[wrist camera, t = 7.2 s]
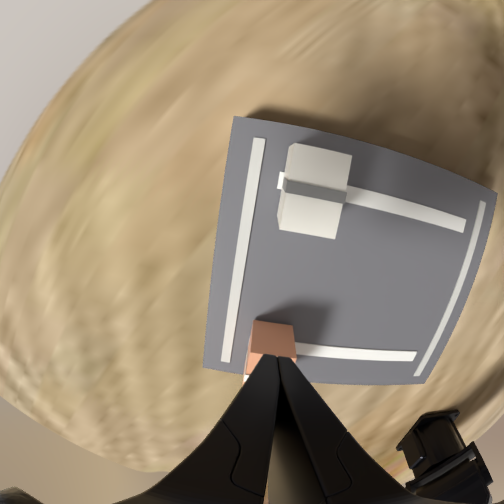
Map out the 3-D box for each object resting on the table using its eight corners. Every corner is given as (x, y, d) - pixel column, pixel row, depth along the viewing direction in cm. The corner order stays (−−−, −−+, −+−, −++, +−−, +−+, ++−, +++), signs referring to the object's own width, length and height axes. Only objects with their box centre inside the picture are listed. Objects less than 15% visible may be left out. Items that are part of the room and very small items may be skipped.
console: (481, 189, 15) (498, 193, 13) (415, 369, 20) (424, 384, 18) (237, 121, 15) (233, 115, 13) (207, 350, 20) (202, 368, 18)
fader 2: (335, 156, 14) (354, 155, 10) (322, 223, 15) (336, 240, 12) (287, 146, 14) (293, 142, 10) (275, 214, 15) (278, 230, 12)
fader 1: (293, 325, 17) (297, 359, 14) (281, 368, 18) (282, 404, 15) (252, 319, 17) (249, 353, 14) (243, 363, 18) (239, 399, 15)
